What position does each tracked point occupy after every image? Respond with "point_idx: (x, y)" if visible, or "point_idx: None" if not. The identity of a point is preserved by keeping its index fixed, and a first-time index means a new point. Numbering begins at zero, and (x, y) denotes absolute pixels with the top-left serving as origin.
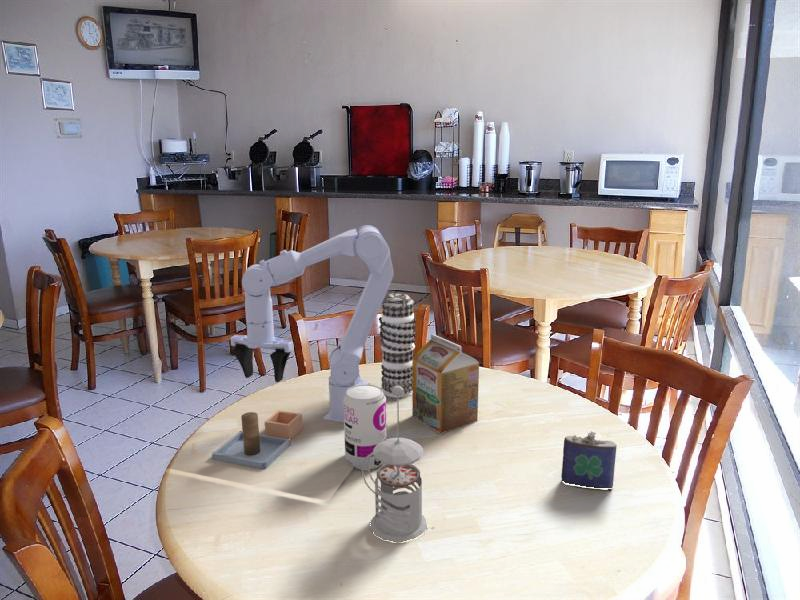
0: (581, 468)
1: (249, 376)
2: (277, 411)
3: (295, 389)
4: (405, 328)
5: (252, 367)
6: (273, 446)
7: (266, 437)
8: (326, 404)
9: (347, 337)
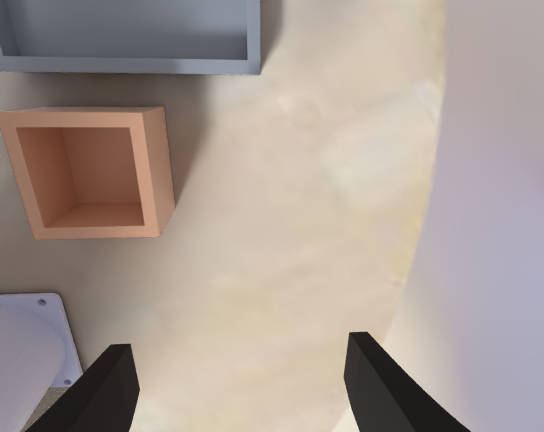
0: None
1: (348, 350)
2: (155, 226)
3: (276, 417)
4: None
5: (360, 428)
6: (67, 31)
7: (113, 58)
8: None
9: None
